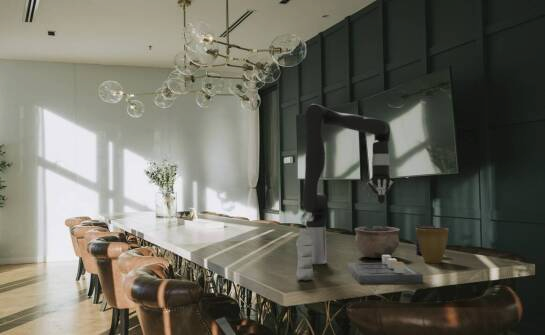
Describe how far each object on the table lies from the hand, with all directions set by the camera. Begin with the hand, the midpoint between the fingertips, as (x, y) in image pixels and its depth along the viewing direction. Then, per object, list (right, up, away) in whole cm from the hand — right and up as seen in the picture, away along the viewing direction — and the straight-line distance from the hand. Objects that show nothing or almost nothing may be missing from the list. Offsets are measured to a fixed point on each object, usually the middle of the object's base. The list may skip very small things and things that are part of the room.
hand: (381, 203), depth 213 cm
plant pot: (+27, -29, +13) cm, 42 cm away
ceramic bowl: (+4, -30, +28) cm, 41 cm away
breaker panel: (-4, -28, -19) cm, 34 cm away
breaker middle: (0, -25, -18) cm, 31 cm away
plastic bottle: (-36, -29, -26) cm, 52 cm away
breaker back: (0, -25, -9) cm, 26 cm away
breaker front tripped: (0, -24, -28) cm, 37 cm away
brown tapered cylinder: (+32, -30, +36) cm, 57 cm away
